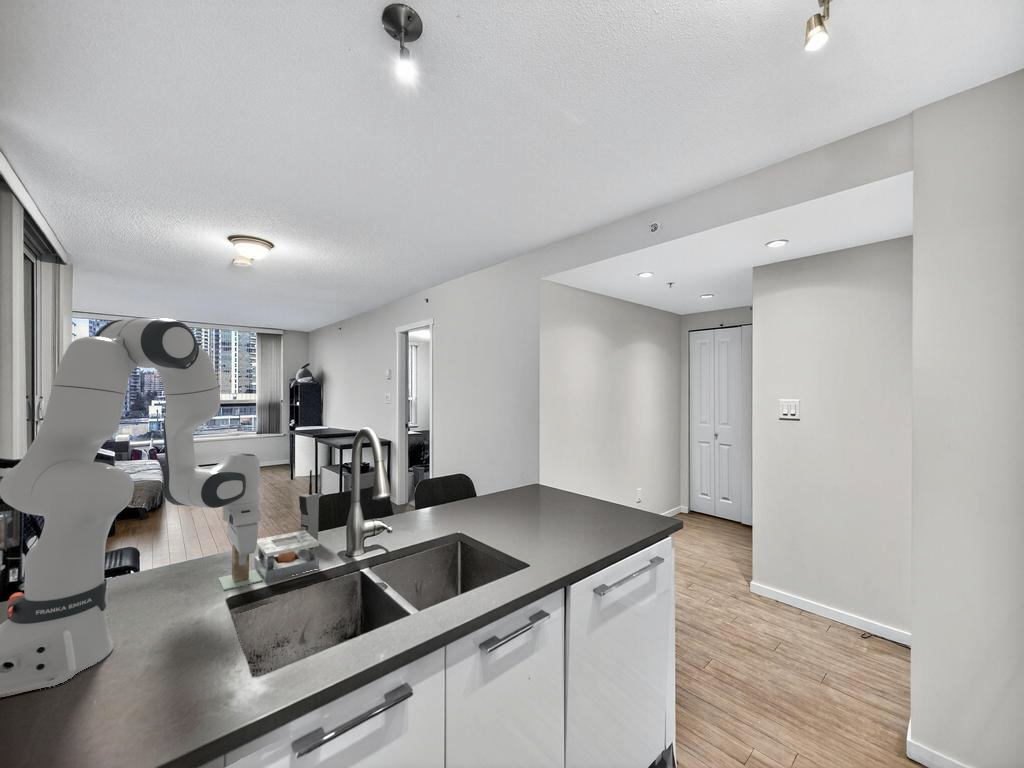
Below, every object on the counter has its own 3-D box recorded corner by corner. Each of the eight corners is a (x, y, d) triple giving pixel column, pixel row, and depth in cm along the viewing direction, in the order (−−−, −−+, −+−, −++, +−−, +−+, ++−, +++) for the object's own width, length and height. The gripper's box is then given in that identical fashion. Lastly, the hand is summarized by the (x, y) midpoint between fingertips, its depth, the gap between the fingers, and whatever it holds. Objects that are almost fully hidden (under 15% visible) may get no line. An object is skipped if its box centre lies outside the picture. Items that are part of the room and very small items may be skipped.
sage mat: (223, 590, 118) (223, 589, 118) (218, 579, 125) (218, 577, 125) (262, 581, 124) (262, 579, 124) (255, 570, 131) (255, 569, 131)
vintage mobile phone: (297, 545, 152) (299, 470, 152) (310, 540, 156) (312, 468, 156) (305, 547, 150) (306, 472, 150) (318, 542, 154) (319, 469, 154)
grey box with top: (265, 582, 123) (266, 553, 123) (254, 566, 134) (254, 539, 134) (318, 569, 132) (319, 542, 132) (304, 555, 143) (304, 530, 143)
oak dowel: (234, 581, 122) (234, 548, 122) (231, 577, 125) (232, 544, 125) (248, 578, 124) (249, 545, 124) (246, 573, 127) (246, 541, 127)
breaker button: (280, 569, 130) (280, 555, 130) (276, 564, 133) (276, 550, 133) (296, 565, 133) (296, 551, 133) (292, 560, 136) (292, 547, 136)
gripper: (221, 504, 130) (220, 552, 130) (234, 521, 115) (233, 576, 115) (246, 501, 134) (245, 547, 134) (262, 517, 119) (261, 570, 119)
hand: (240, 561), depth 124 cm, fingers open, 4 cm apart
